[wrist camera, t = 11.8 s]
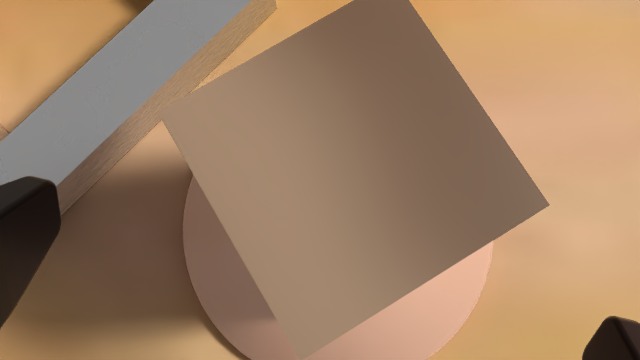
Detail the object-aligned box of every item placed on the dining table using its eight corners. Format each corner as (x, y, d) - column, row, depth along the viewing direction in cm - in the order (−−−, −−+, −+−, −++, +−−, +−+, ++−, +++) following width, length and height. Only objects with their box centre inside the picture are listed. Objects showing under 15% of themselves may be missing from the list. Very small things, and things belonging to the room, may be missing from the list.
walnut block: (315, 315, 19) (300, 361, 8) (249, 204, 20) (157, 111, 9) (424, 246, 19) (549, 205, 9) (356, 140, 20) (393, -22, 9)
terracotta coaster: (343, 456, 19) (344, 460, 18) (122, 229, 20) (118, 229, 20) (553, 219, 20) (557, 218, 20) (331, 24, 21) (332, 19, 21)
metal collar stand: (24, 251, 20) (-10, 248, 18) (-193, 20, 22) (-245, -6, 20) (276, 8, 21) (271, -19, 20) (56, -190, 23) (31, -233, 21)
